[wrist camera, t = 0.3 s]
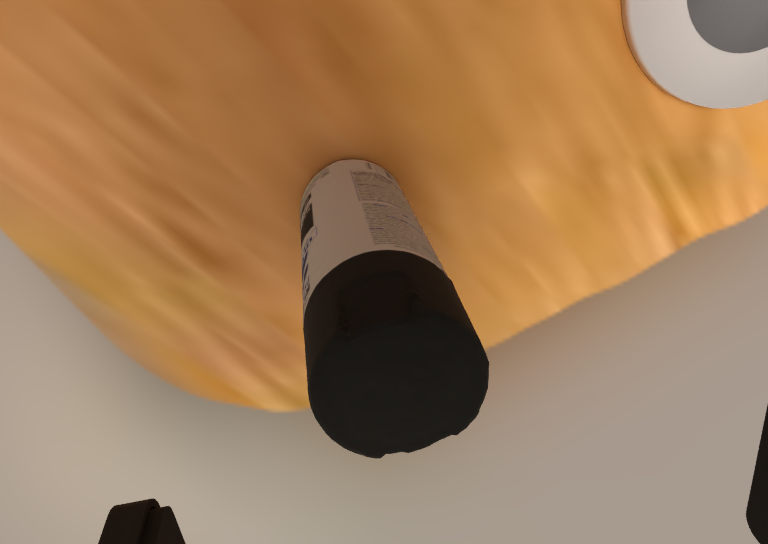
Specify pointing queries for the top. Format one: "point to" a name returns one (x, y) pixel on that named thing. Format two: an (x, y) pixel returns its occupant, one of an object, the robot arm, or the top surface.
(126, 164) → the top surface
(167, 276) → the top surface
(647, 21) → the mount plate
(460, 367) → the spray can
